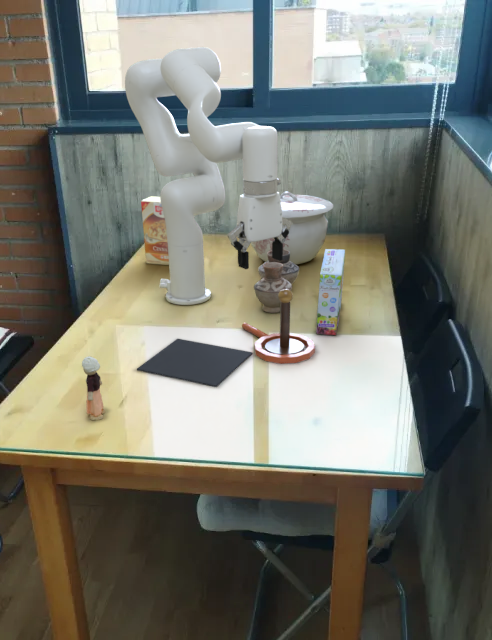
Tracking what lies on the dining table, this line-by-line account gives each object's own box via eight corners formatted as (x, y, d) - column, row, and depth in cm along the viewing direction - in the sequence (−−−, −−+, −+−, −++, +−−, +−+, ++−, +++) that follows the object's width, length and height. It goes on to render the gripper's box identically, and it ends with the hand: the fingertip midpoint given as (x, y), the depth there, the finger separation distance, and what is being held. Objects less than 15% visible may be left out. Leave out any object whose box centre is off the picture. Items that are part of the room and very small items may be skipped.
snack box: (338, 336, 165) (342, 275, 158) (315, 335, 166) (317, 274, 159) (342, 304, 183) (345, 247, 175) (320, 303, 184) (323, 247, 176)
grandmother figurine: (88, 407, 140) (80, 350, 133) (107, 405, 140) (100, 348, 134) (85, 426, 133) (76, 367, 127) (105, 425, 134) (97, 365, 127)
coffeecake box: (145, 263, 220) (139, 200, 210) (155, 256, 226) (150, 195, 216) (188, 267, 215) (184, 203, 205) (197, 260, 221) (194, 197, 211)
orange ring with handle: (326, 353, 158) (326, 346, 157) (278, 368, 152) (278, 362, 151) (265, 321, 175) (265, 315, 174) (220, 334, 169) (220, 328, 168)
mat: (136, 370, 154) (136, 368, 154) (177, 340, 167) (177, 338, 167) (216, 387, 145) (216, 385, 145) (252, 353, 159) (252, 352, 159)
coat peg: (258, 355, 158) (258, 293, 151) (274, 340, 165) (274, 280, 157) (295, 361, 154) (297, 298, 147) (309, 346, 161) (312, 285, 153)
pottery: (249, 315, 179) (249, 270, 173) (260, 283, 200) (260, 242, 194) (293, 316, 177) (294, 271, 171) (299, 284, 198) (301, 242, 192)
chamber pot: (330, 273, 204) (334, 202, 194) (238, 272, 209) (236, 202, 198) (331, 246, 228) (334, 181, 217) (248, 245, 232) (248, 181, 222)
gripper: (280, 179, 159) (280, 252, 168) (218, 190, 151) (220, 267, 160) (301, 184, 153) (299, 259, 162) (237, 196, 146) (239, 275, 154)
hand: (260, 263), depth 161 cm, fingers open, 9 cm apart
